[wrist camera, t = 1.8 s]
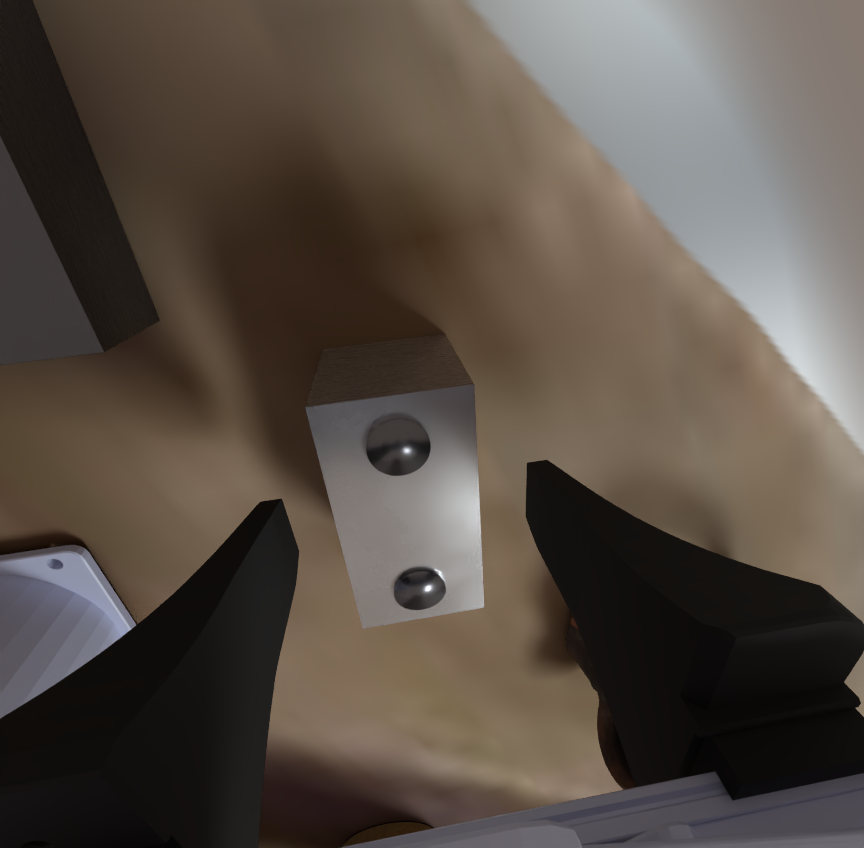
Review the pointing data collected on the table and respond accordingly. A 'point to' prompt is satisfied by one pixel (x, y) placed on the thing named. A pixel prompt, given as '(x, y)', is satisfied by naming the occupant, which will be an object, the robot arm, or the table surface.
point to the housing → (401, 475)
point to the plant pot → (386, 832)
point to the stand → (56, 215)
